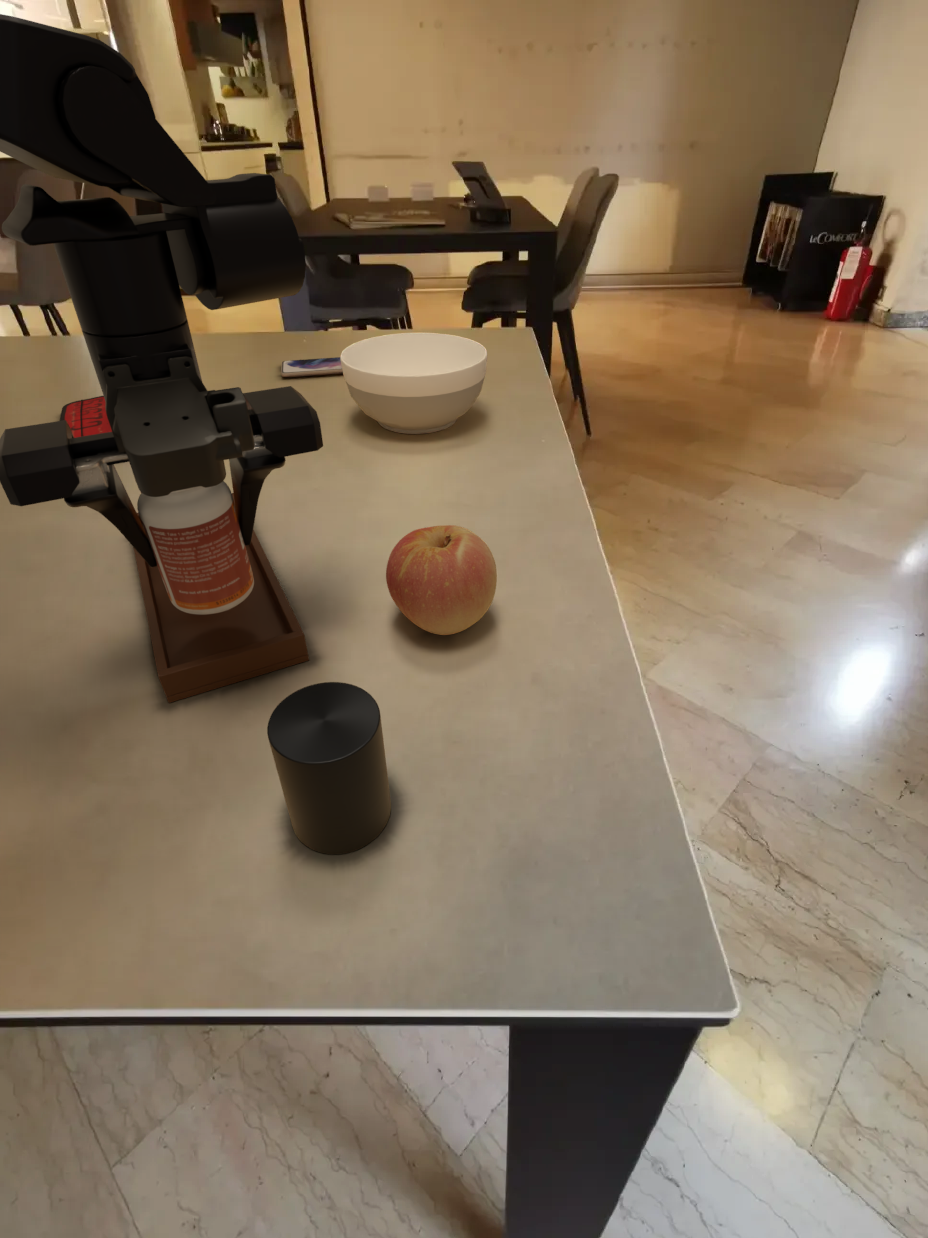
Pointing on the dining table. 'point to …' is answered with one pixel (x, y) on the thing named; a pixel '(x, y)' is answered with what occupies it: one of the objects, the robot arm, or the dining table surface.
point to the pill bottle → (198, 548)
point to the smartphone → (311, 367)
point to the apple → (442, 578)
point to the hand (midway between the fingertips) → (201, 553)
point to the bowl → (415, 379)
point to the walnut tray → (221, 633)
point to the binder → (86, 417)
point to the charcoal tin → (331, 765)
